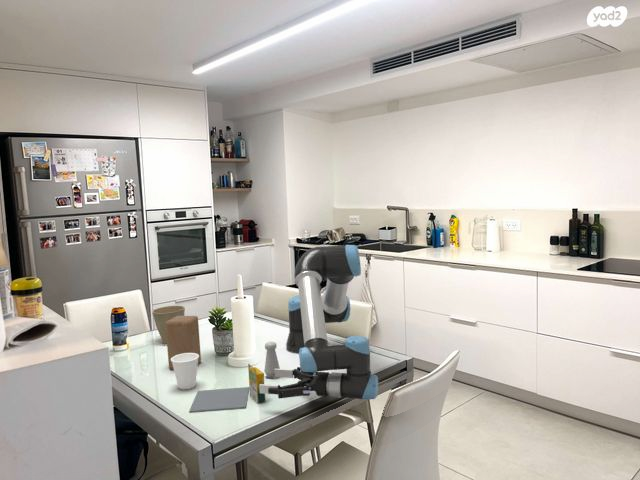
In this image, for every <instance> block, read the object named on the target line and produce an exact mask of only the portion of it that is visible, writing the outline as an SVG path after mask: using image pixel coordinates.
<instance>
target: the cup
mask: <svg viewBox="0 0 640 480" xmlns="http://www.w3.org/2000/svg"><path fill="white" fill-rule="evenodd" d="M198 357H199V355H198V354H196V353H183V354H179V355H176V356H174V357H172V358H171V361H172V364H173V368H174V369H173V373H174V375H175V379H176V380H175V381H176V383H177V387H178V388H179V389H180V390H190V389H192V388H194V387H195V386H196V384H197V376H198V365H199V364H198Z"/></svg>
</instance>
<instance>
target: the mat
mask: <svg viewBox="0 0 640 480" xmlns="http://www.w3.org/2000/svg"><path fill="white" fill-rule="evenodd" d="M249 394H250V390H249V386H246V387H232V388H218V389H206V390H198V391H197V392H196V395H195V397H194V398H193V401H192V403H191V405H190V408H189V410H188V412H189V413H201V412H212V411H213V412H214V411H216V412H217V411H227V410H240V409H241V410H242V409H247V403H248V400H249V399H248V398H249Z"/></svg>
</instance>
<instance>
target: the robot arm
mask: <svg viewBox="0 0 640 480" xmlns="http://www.w3.org/2000/svg"><path fill="white" fill-rule="evenodd" d="M361 274H362V266H361V259H360V253H359V248H358V246H357V245H355V244H345V245H344V244H341V245H329V246H327V245H325V246H315V247H311V248H309V249H308V250H306V251H305V252H304V253H303V254H302V255H301V257H299V259H298V261H297V263H296V265H295V268H294V283H295V285H296V286H297V287H298V295H295V296H293V297H291V298H290V299H288V305H287V306H288V307H287V311H288V327H289V331H288V336H287V339H286V344H285V347H286V350H287V351H288V352H290V353H295V354H298V355H299V356H298V357H299V358H298V359H299V366H297V367H296V368H293V369H288V368H287V369H285V368H280V369H274V372H275V377H276V378H283V379H284V378H286V379H297V380H299V381H297V382H296V383H291V384H287V385H282V386H281V385H280V384H278V385H276V384H265V383H264V384H260V385H259V390H260V393H263V394H265V395H277V398H278V399H288V398H294V397H295V398H296V397H304V396H306V397H310V396H311V393H310V392H315V393H316V396H318V397H326V398H327V397H331V398H336V399H340V398H344V399H345V398H346V399H354V400H355V399H357V400H362V401H363V400H375V399H376V398H377V397H378V394H379V378H378V375H376V374H373V373H372V372H371V371H372V370H371V351H370V350H371V349H370V341H369V339H368V338H367V337H366V336H364V335H363V336H362V335H352V336H348V337H347V338H345V341H344V344H332V345H329V342H328V334H327V328H326V327H327V326H326V324H331V323H333V324H334V323H344V322H347V321H348V320H349V319H350V315H351V303H350V302H351V301H350V298H349V297H348V295H347V291H348V288H349V283H351V282H352V281H353V279H354V278H355V277H359V276H361ZM323 279H326V286H325V292H324V293H323V294H322V291H321V283H322V281H323ZM337 370H338V371H339V370H346V373H345V372H335V371H337ZM328 371H329V372H328ZM330 371H331V372H330ZM333 371H334V372H333Z"/></svg>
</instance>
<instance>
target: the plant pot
mask: <svg viewBox="0 0 640 480" xmlns="http://www.w3.org/2000/svg"><path fill="white" fill-rule="evenodd" d="M185 308H186V307H185V306H183V305H167V306H161V307H158V308H155V309H153V310H152V311H151V312H152V317H153V320H154V324H155V326H156V329H157V331H158V334H159V337H160V338H161V341H162V343H164V344H166V345H167V336H166V321H168V320H170V319H172V318H174V317H176V316H185Z"/></svg>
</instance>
